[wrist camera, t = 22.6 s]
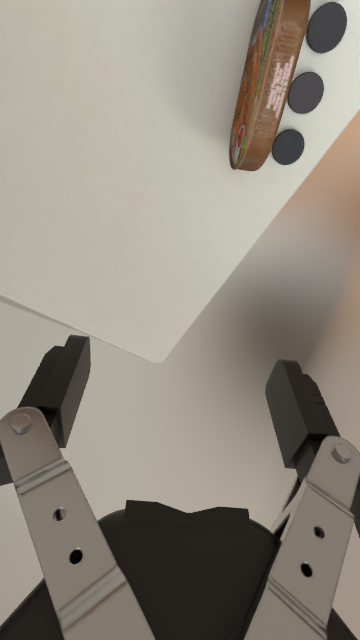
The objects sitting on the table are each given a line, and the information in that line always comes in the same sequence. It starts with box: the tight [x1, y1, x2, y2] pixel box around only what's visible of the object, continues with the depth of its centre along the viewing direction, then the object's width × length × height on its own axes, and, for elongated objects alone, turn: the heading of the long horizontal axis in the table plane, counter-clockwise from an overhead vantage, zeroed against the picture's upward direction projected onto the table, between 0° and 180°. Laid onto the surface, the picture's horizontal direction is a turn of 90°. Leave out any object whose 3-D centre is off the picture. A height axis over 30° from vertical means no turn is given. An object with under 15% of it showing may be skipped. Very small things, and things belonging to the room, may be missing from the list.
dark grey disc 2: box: [288, 72, 324, 114], centre depth 34 cm, size 4×4×1 cm
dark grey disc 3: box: [307, 2, 347, 53], centre depth 30 cm, size 4×4×1 cm
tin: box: [229, 0, 311, 171], centre depth 30 cm, size 15×3×8 cm, turn 171°
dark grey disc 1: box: [272, 130, 304, 165], centre depth 37 cm, size 4×4×1 cm
